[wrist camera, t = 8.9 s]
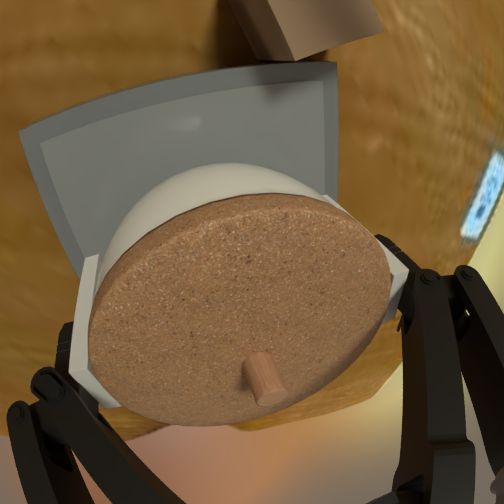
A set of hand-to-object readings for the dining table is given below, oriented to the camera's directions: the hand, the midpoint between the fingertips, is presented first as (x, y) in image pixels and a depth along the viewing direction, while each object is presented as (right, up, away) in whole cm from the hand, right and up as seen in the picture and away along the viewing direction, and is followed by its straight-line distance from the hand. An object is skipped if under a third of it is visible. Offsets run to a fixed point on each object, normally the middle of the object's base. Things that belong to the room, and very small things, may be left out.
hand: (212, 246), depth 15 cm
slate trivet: (-1, +2, +3) cm, 4 cm away
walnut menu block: (+3, +13, -2) cm, 14 cm away
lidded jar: (0, +1, +1) cm, 1 cm away
